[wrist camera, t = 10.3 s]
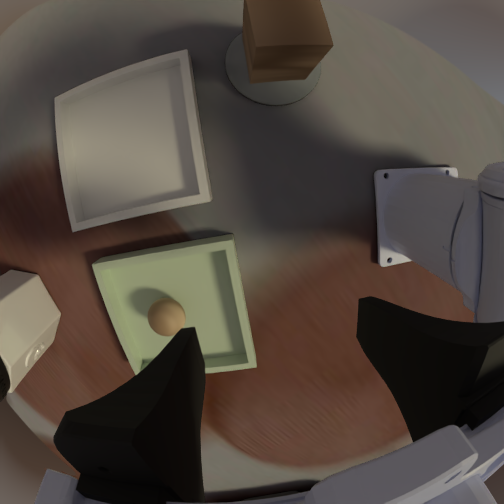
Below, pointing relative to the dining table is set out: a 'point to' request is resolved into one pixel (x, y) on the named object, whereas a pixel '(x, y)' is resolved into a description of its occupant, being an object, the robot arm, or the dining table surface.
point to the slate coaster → (266, 91)
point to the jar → (23, 326)
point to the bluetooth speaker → (272, 495)
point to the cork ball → (166, 316)
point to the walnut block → (284, 39)
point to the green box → (180, 300)
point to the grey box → (132, 143)
